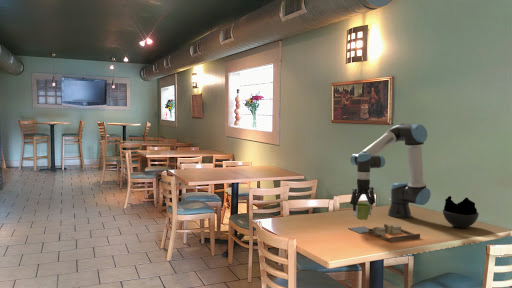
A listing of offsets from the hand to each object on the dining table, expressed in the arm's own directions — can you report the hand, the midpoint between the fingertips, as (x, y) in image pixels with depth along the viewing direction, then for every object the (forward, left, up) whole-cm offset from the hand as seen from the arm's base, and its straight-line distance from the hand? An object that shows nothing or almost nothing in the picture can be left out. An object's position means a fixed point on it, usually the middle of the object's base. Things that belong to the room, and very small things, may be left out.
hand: (362, 215), depth 245 cm
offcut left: (+10, +4, -9) cm, 14 cm away
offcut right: (+10, +16, -9) cm, 21 cm away
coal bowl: (+16, +62, -9) cm, 65 cm away
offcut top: (+10, +10, -7) cm, 16 cm away
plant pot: (0, 0, -2) cm, 2 cm away
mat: (0, 0, -9) cm, 9 cm away
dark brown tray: (+16, +10, -9) cm, 21 cm away
